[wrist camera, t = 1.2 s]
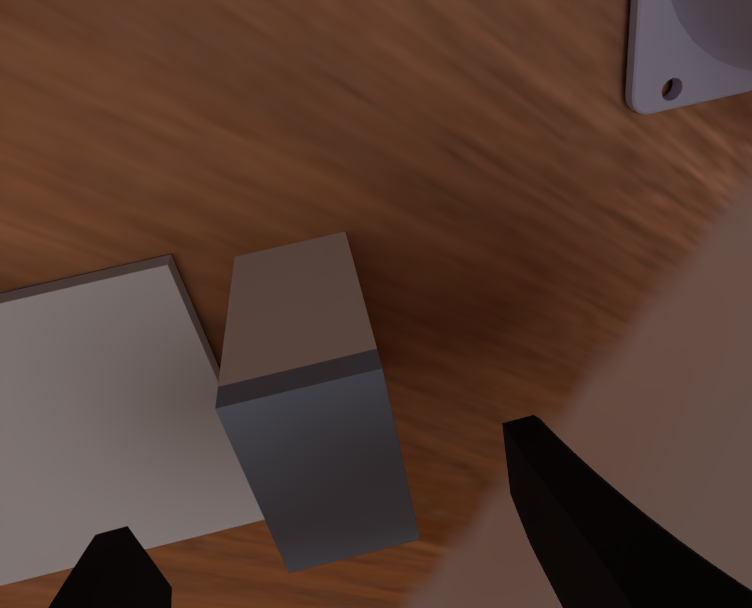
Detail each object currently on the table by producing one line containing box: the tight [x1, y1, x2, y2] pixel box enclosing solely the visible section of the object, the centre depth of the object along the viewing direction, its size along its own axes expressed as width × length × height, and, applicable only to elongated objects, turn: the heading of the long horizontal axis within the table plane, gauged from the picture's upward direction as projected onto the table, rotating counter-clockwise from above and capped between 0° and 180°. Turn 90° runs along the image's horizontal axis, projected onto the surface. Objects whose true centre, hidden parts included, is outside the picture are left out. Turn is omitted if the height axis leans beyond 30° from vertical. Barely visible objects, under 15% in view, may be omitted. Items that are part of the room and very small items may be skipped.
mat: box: [0, 254, 264, 586], centre depth 17 cm, size 12×10×1 cm
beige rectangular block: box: [215, 232, 420, 573], centre depth 14 cm, size 3×5×6 cm, turn 10°
